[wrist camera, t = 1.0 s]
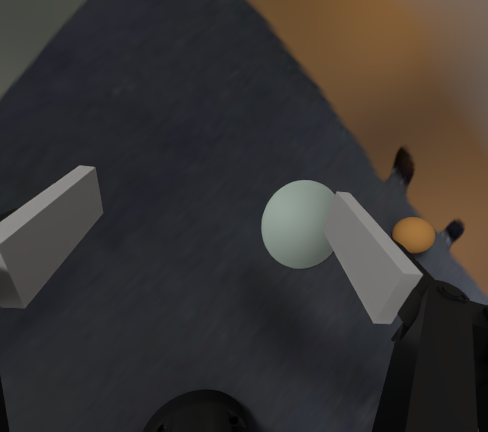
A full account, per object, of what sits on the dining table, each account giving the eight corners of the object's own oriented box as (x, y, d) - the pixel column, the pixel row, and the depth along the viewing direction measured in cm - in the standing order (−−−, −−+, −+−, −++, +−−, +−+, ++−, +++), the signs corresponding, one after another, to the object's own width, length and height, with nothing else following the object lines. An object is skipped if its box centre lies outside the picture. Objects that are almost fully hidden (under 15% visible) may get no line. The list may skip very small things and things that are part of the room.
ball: (408, 249, 43) (441, 258, 38) (381, 247, 42) (411, 256, 36) (414, 216, 43) (447, 220, 37) (386, 213, 41) (417, 218, 36)
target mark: (336, 269, 40) (337, 269, 40) (256, 267, 37) (257, 267, 37) (348, 185, 39) (348, 185, 39) (266, 175, 36) (267, 175, 35)
